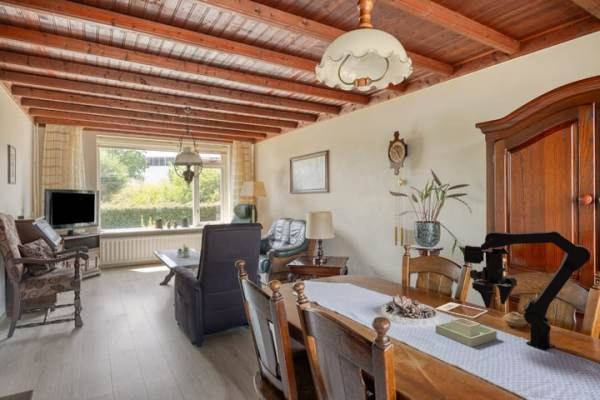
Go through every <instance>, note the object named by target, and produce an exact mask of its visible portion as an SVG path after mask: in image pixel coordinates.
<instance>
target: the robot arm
mask: <svg viewBox="0 0 600 400" xmlns="http://www.w3.org/2000/svg"><path fill="white" fill-rule="evenodd" d="M551 243H552V244H554V245H555V246H556V247H558V248H560V250H562V251H563V252H564V255H563V258H562V261H561V263H560V265H559V267H558V269H557V270H556V271H555V272H554V274H553V276H551V278H550V280H549V281H548V282H547V283H546V285H545V286H544V288H543V289H542V290H541V292H540V293H539V295H538V296H536V298H535V299H532V298H531V297H529V298H528V300H527V302H526V303H525V304H523V316H524V319H525V320H526V322H527V324H529V325H530V327H529V328H530V340H529V341H526V342H525V343H526V345H529V346H531V347H535V348H537V349H541V350H543V351H547V350H549V349H552V348H555V347H556V345H555V344H553V343H551V329H552V328H551V327H552V326H551V323H550V320H549V319H548V317H546V315H547V313H548V310H549V307H550V305H551V304H552V302H553V301H554V299H555V298H556V297H557V295H559V293H560V292H561V290H562V288H563V287H565V284H566V283H567V282H568V281H569V279H570V278H571V277H572V275H573V274H574V273H575V272H577V271H578V270H579V269H581V268H582V267H583V266H584V265H585V264H587V263H588V262H589V261H590V259H591V254H590V253H591V252H590V251H589V250H588V249H587V248H586V247H584V246H583V245H581V244H577V243H576V244H575V243H573V242H572V241H570V240H569V239H567V238H565V236H562V235H561V233H559V232H558V231H556V230H551V231H542V232H540V231H538V232H537V231H536V232H523V233H522V232H518V233H517V232H515V233H513V232H512V233H511V232H504V231H496V230H495V231H490V232H488V233H487V234H486V235H485V238H484V242H483V243H481V244H480V246H478V245H477V246H475V245H474V246H473V245H464V254H463V261H464V262H463V263H465V264H477V265H478V264H479V265H481V264H482V262H485V266H483V267H482V270H481V271H478V270H477V269H472V270H469V277H470V279H472V280H473V281H472V283H471V285H472V286H471V288H472V289H473V290H475V291H476V292H477V293H479V295H480V296H481V299H482V301H483V304H484V306H485V308H486V309H490V307H491V303H492V300H493V296H494V293H495V292H494V291H493V290H494V287H497V288H498V291H499V300H500V304H501V305H503V306H504V305H505V304H506V302H507V300H508V298H509V297H510V295H511V293H512V291H513V290H514V289H515V287H517V286H518V281H517V278H516V277H513V276H512V277H511V276H505V275H504V272H506V271H507V267H504V255H508V254H509V251H508V250H507V249H506V247H507V246H510V245H519V244H520V245H521V244H522V245H523V244H526V245H527V244H551ZM501 247H502V248H501ZM491 248H492V249H491ZM489 249H491V250H489Z"/></svg>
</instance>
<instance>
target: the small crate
mask: <svg viewBox="0 0 600 400" xmlns="http://www.w3.org/2000/svg"><path fill="white" fill-rule="evenodd" d="M450 321H451V330H452V331H455V332H457V333H460V334H463V335H465V336H468V337H474V336H477V335H480V325H481V323H479V322H477V321H476V322H475V321H472V320H470V319H466V318H465V317H459V318H456V319H455V318H454V319H451V320H450Z"/></svg>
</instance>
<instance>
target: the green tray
mask: <svg viewBox="0 0 600 400" xmlns="http://www.w3.org/2000/svg"><path fill="white" fill-rule="evenodd" d="M497 332H498V331H497V330H495V329H492V328H490V327H487V326H483V325H481V324H480V335H477V336H474V337H468V336H465V335H463V334H460V333H457V332H455V331H452V330H451V320H449V321H447V322H446V321H445V322H442V323H438V324H435V334H438V335H441V336H443V337H446V338H449V339H451V340H453V341H455V342H457V341H458V343H460V344H462V343H463V345H466V346H467V345H468V347H470V348H472V347H477V346H480V345H481V344H485V343H487V342H488V343H489V342H491V341H494V340H497V337H498V336H497Z"/></svg>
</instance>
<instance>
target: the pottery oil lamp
mask: <svg viewBox="0 0 600 400" xmlns="http://www.w3.org/2000/svg"><path fill="white" fill-rule="evenodd" d="M501 318H502V320H503V321H504V322H505V323H506V324H507V325H509V326H510V327H513V328H518V329H519V328H520V329H521V328H522V327H525V326H526V325H528V323H527V322H526V320H525V319H524V314H519V312H518V311H510V312H508V313H506V314H505V315H503V316H502V317H501Z"/></svg>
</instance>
